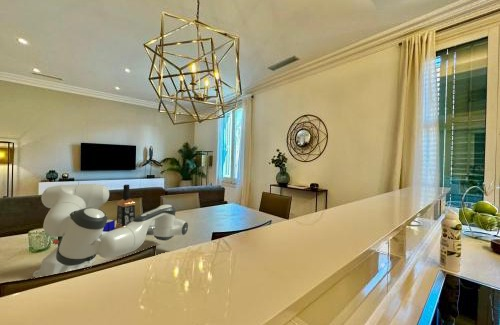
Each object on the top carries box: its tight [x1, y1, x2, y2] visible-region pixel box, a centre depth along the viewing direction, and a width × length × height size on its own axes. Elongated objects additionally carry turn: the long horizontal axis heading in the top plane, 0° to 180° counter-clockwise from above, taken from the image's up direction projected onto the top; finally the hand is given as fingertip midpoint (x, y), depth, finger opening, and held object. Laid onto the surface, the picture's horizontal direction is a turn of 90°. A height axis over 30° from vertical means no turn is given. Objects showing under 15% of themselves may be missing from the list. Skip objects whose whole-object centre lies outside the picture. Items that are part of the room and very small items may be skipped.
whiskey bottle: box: [115, 184, 137, 229], centre depth 153 cm, size 10×10×32 cm
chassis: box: [147, 230, 154, 236], centre depth 153 cm, size 14×14×4 cm
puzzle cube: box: [103, 218, 116, 232], centre depth 139 cm, size 10×10×10 cm
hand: (147, 220), depth 133 cm, fingers open, 8 cm apart
